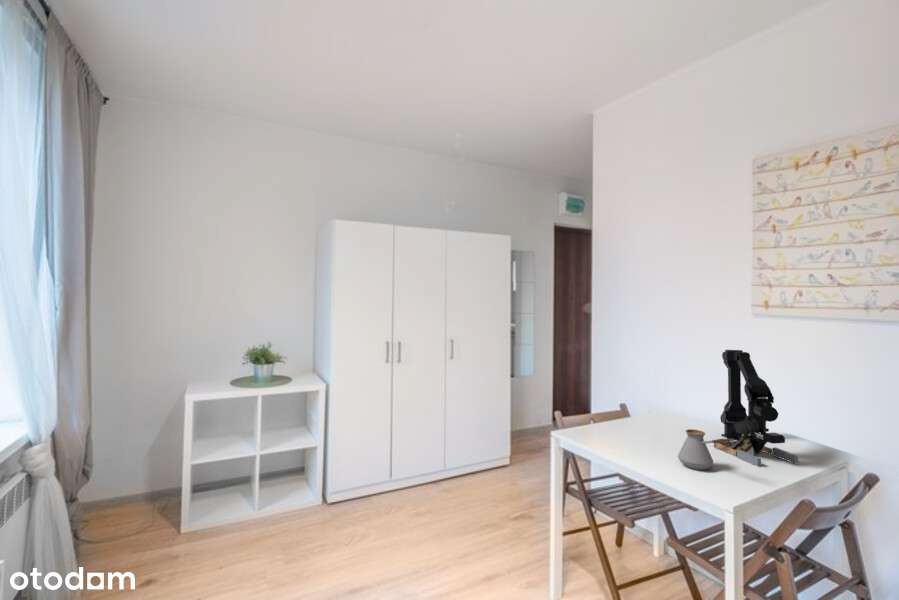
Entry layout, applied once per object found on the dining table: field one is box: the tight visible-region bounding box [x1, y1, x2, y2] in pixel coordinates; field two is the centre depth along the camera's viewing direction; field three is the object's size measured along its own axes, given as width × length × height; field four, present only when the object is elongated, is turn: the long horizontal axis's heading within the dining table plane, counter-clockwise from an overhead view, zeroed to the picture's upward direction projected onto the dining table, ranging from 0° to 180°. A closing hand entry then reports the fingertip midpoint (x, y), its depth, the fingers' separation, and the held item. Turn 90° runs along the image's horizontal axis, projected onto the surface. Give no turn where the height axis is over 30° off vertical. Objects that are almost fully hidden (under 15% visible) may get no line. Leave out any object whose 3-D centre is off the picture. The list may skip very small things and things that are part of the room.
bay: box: [736, 446, 799, 467], centre depth 163 cm, size 9×18×3 cm, turn 100°
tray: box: [713, 440, 773, 458], centre depth 173 cm, size 11×17×2 cm, turn 100°
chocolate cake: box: [729, 434, 756, 456], centre depth 171 cm, size 10×7×12 cm
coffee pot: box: [677, 428, 738, 471], centre depth 152 cm, size 21×12×15 cm, turn 19°
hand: (757, 453), depth 167 cm, fingers closed
